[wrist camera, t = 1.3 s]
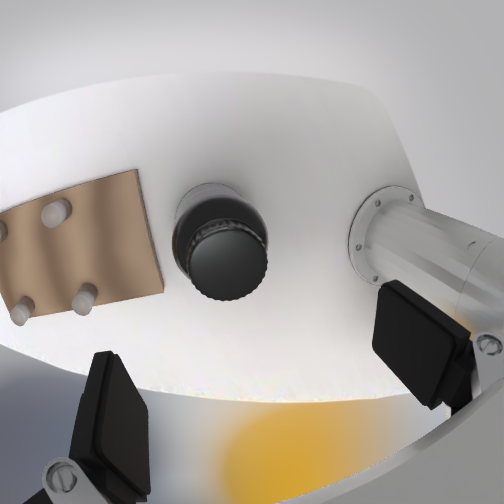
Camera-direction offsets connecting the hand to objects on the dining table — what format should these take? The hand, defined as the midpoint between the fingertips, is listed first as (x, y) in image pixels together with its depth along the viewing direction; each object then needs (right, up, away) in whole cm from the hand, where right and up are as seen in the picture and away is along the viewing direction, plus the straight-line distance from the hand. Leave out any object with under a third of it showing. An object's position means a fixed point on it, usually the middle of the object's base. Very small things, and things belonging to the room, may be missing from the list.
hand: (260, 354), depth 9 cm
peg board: (-20, +3, +16) cm, 25 cm away
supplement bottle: (-4, +7, +18) cm, 20 cm away
